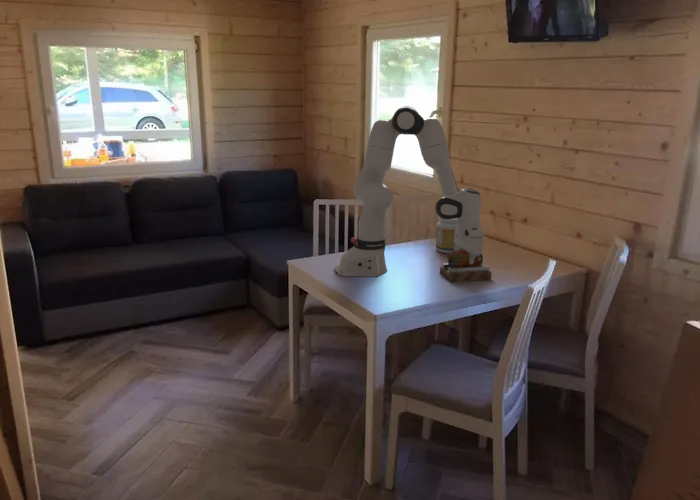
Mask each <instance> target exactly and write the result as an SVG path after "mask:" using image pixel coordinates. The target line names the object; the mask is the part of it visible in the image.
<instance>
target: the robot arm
mask: <svg viewBox="0 0 700 500" xmlns="http://www.w3.org/2000/svg"><path fill="white" fill-rule="evenodd" d="M391 117H392V118H390V119H378V120H376V121H374V123H373V124H372V128H371V131H370V133H369V137H368V141H367V145H366V146H367V147H366V152H365V158H364V162H363V166H362V169H361V171H360V173H359V176H358V177H357V180H356V181H355V182H354V184H353V187H352V192H353V195H354V197H355V199H356V200H357V201H359V203H361V204H362V205H363V208H362V212H361V216H360V217H359V219H358V231H357V232H358V233H357V234H358V237H357V238H355V237H351V239H350V242H351V243H353V247H351V248H350V249H348V250H347V251H346V252H344V253H343V254H342V255H341V258H340V261H339V262H340V263H339V264H335V266H334V272H335V273H336V272H337V273H338V276H341V275H342V277H379V276H380V275H382V274H384V273H386V272H387V271H388V269H387V264H386V256H385V251H386V238H385V230H386V229H385V228H386V227H385V224H386V218H387V213H388V209H389V207H390V206H391V205H392V204H393V200H394V195H393V192H392V190H391V189H390V188H389V187H388V185H386V184H384V179H385V177H386V176H387V175H386V174H387V173H388V172H389V171H390V169H391V167H392V163H393V157H394V152H395V147H396V146H395V145H396V141H397V138H398V137H399V135H412V136H413V135H414V136H415V137H416V139H417V141H418V145H419V149H420V152H421V153H420V154H421V156H422V158H423V161H424V163H425V165H426V166H427V167H429V168H431V169H432V170H434V172H435V173H436V174H437V177H438V180H439V183H440V187H441V190H442V195H441V196H442V197H440V198H439V199H438V200H437V202H436V205H435V213H436V215H437V216H438V218H439V217H441V218H443V219H456V218H457V219H458V226H457V228H456V230H455V236H454V243H455V244H456V245H457V246H458V250H465V251H466V252H468V253H469V254H470V259H468V263H469V264H473V263H474V259H475V257H476V256H480V255H481V254H483V253H482V252H483V245H484V244H483V243H484V240H483V237H485V231H484V230H483V229H482V226H481V225H480V224H481V223H480V222H481V220H480V214H481V211H482V197H481V193H480V192H479V191H478V190H475V189H473V188H468V187H465V188H462V189H461V190H459V188H458V185H457V182H456V179H455V175H454V172H453V169H452V164H451V157H450V151H449V144H448V142H447V137H446V134H445V131H444V128H443V126H442V124H441V122H440V121H439V119H438V118H435V117H428V118H427V117H426V118H423V117H422V115H420V113H419V112H418V111H417V110H416V108H414V107H412V106H408V105H407V106H404V105H403V106H401V107H399V108H397V110H395V112H394V113H393V116H391ZM337 273H336V274H337Z"/></svg>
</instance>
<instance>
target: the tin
mask: <svg viewBox="0 0 700 500" xmlns="http://www.w3.org/2000/svg"><path fill="white" fill-rule="evenodd" d="M468 259H470V254H469V253H468V252H466V251H465V250H455V251H452V252H451V253H450V254H448V256H447V263H448V264H449V266H450V267H451V268H454V267H471V266H480V265H481V264H482V262H484V257H483V253H481V255H480V256H476V257H475V259H474V263H473V264H469V263H468Z"/></svg>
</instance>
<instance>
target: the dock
mask: <svg viewBox="0 0 700 500" xmlns="http://www.w3.org/2000/svg"><path fill="white" fill-rule="evenodd" d="M441 264H442V265H441V266H439V274H440V275H441V276H442V277H444V278H445V279H446V280H447V281H448V282H449V283H457V282H473V281H477V282H478V281H487V280H490V281H491V280H492V272H491V271H490V270H491V269H490V267H491V266H490V265H484V261H482V264H481V265H480V266H471V267H454V268H451V267H450V266H449V264H448V262H445V263H441Z"/></svg>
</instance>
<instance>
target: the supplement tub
mask: <svg viewBox="0 0 700 500" xmlns="http://www.w3.org/2000/svg"><path fill="white" fill-rule="evenodd" d="M438 220H439V221H438V222H437V224H436V234H435V235H436V237H435V239H436V240H435V250H436V251H437V252H439V253H443V254H448V255H449V254H450V253H451V252H452V251H455V250H458V246H457V245H456V244H455V243H454V236H455V230H456V228H457V226H458V219H457V218H456V219H443V218H441V217H439V216H438Z"/></svg>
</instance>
